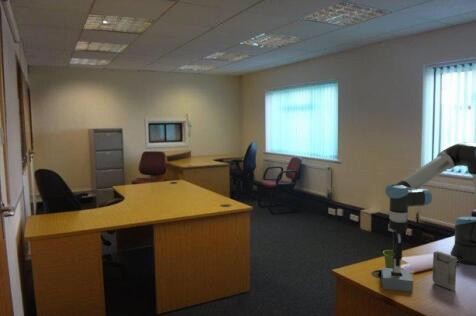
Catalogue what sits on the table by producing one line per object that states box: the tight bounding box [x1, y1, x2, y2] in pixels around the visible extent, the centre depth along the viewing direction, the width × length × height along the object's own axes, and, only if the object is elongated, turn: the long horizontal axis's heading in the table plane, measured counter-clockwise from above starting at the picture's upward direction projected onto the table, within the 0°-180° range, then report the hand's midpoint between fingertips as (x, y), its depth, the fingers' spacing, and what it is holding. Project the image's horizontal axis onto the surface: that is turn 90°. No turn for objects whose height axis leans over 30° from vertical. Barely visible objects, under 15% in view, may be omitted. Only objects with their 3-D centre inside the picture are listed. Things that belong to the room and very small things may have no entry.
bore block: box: [380, 267, 414, 293], centre depth 166 cm, size 12×12×5 cm
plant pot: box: [382, 249, 404, 269], centre depth 182 cm, size 9×9×9 cm
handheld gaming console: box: [431, 250, 458, 291], centre depth 163 cm, size 9×4×15 cm, turn 28°
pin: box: [393, 253, 400, 276], centre depth 166 cm, size 3×3×12 cm
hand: (396, 270), depth 166 cm, fingers closed on pin, 3 cm apart
